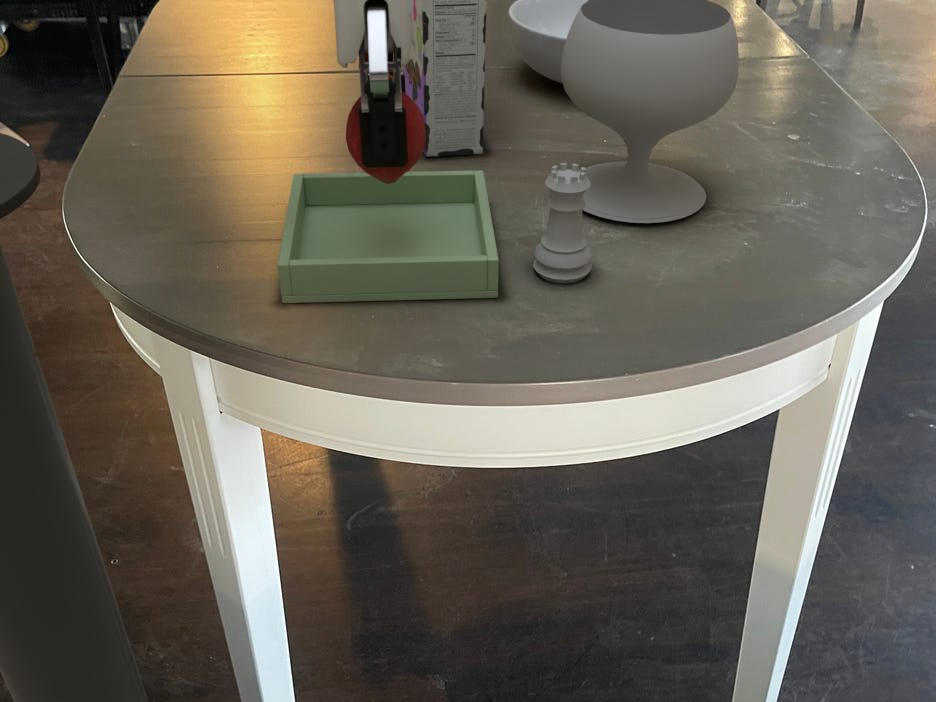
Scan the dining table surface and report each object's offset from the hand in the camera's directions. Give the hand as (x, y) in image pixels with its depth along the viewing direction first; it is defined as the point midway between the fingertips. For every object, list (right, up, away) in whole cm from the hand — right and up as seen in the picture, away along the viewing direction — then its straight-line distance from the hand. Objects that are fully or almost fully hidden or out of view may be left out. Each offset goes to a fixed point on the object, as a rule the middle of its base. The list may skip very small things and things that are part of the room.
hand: (385, 144), depth 74 cm
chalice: (+20, 0, +14) cm, 24 cm away
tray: (0, -7, +5) cm, 8 cm away
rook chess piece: (+13, -9, +3) cm, 16 cm away
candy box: (+3, +9, +25) cm, 27 cm away
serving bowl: (+20, +19, +37) cm, 46 cm away
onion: (0, -2, +2) cm, 3 cm away
